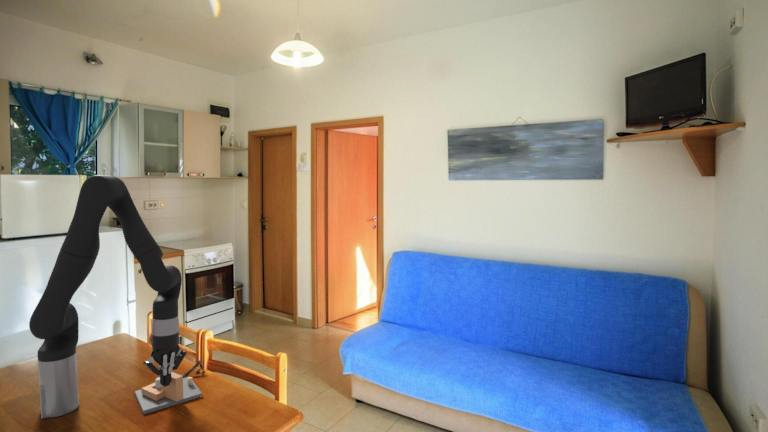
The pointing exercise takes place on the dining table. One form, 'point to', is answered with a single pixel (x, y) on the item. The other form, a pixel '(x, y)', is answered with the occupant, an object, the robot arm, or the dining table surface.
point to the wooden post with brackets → (194, 368)
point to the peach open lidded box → (166, 389)
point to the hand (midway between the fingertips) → (165, 385)
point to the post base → (152, 405)
